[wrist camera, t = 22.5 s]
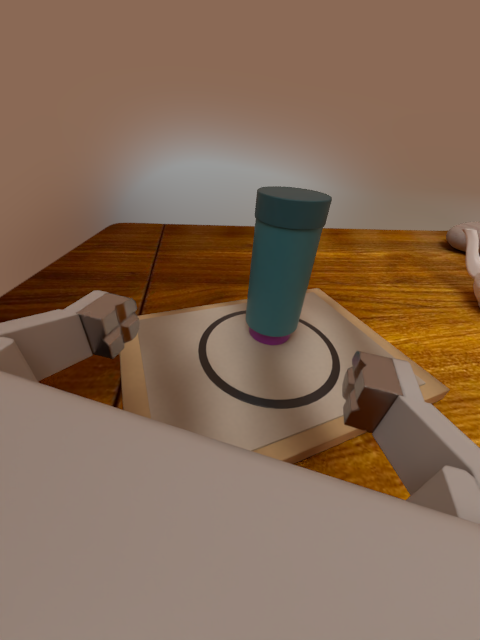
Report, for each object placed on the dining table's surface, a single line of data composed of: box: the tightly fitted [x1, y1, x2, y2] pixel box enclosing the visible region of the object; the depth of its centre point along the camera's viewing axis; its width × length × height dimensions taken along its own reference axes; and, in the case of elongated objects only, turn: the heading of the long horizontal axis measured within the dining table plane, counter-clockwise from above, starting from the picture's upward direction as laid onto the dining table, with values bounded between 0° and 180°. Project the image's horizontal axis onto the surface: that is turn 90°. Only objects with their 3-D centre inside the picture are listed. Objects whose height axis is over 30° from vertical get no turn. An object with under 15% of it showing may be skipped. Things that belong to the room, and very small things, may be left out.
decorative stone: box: [446, 222, 480, 253], centre depth 50 cm, size 13×9×5 cm
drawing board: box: [120, 288, 449, 464], centre depth 21 cm, size 22×16×2 cm
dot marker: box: [246, 187, 332, 345], centre depth 19 cm, size 5×5×11 cm
